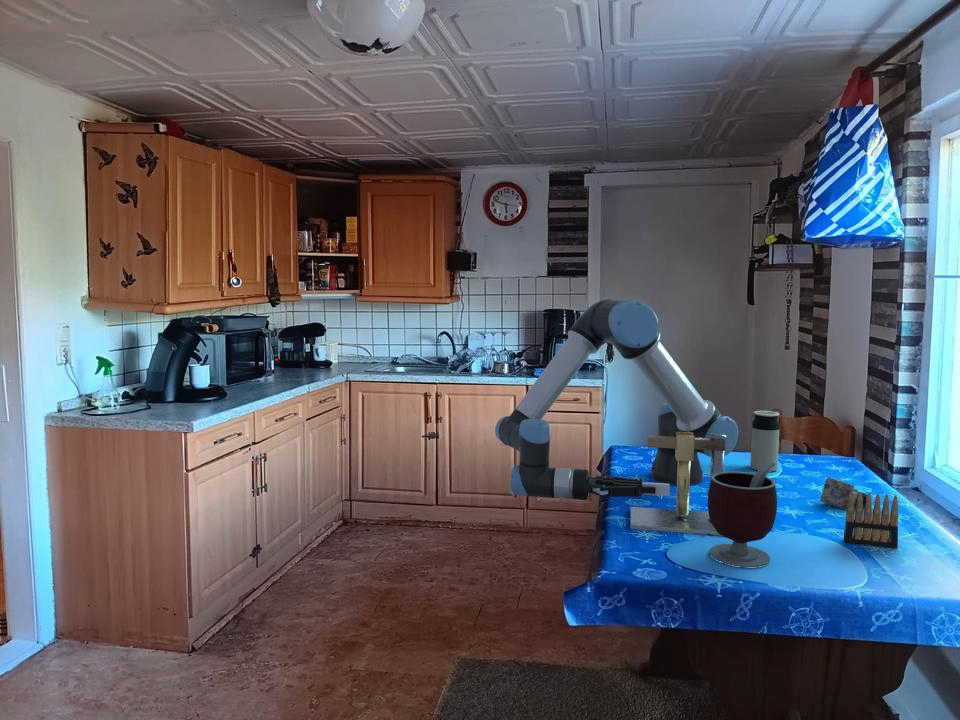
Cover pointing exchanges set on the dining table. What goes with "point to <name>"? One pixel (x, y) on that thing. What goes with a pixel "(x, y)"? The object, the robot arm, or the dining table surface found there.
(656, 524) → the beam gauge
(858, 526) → the ammunition clip
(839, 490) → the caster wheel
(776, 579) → the dining table surface
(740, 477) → the mate gourd
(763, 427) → the travel mug
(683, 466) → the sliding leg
